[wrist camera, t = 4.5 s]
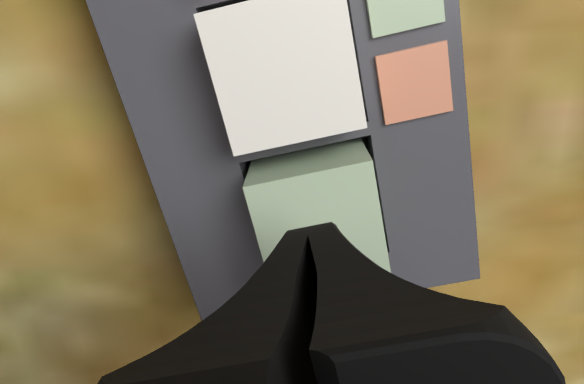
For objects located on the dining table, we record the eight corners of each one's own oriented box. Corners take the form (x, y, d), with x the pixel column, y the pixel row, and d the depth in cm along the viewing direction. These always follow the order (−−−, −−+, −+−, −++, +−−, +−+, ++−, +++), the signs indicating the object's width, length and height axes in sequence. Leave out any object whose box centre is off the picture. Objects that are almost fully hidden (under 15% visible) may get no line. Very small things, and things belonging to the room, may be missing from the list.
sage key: (375, 231, 19) (391, 274, 16) (277, 249, 19) (273, 295, 16) (358, 134, 17) (372, 160, 14) (252, 157, 18) (242, 187, 14)
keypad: (455, 244, 21) (482, 280, 18) (216, 288, 22) (203, 330, 19) (402, -303, 14) (431, -395, 11) (53, -197, 15) (-10, -253, 12)
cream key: (354, 108, 17) (367, 127, 14) (245, 131, 17) (233, 156, 14) (333, -13, 15) (342, -24, 12) (215, 16, 16) (193, 14, 12)
